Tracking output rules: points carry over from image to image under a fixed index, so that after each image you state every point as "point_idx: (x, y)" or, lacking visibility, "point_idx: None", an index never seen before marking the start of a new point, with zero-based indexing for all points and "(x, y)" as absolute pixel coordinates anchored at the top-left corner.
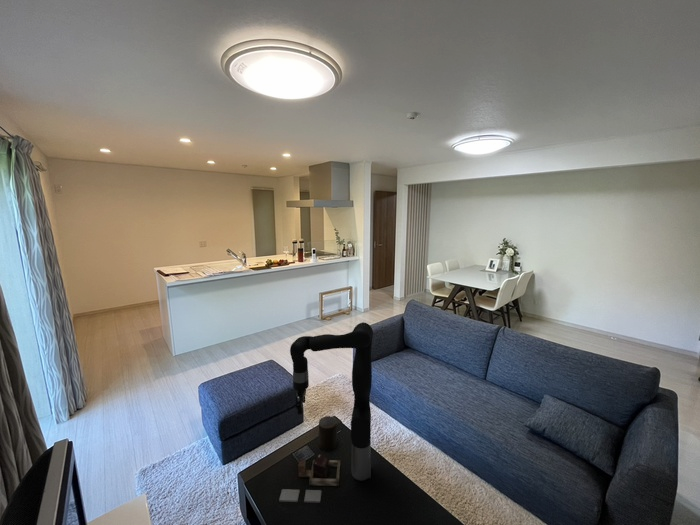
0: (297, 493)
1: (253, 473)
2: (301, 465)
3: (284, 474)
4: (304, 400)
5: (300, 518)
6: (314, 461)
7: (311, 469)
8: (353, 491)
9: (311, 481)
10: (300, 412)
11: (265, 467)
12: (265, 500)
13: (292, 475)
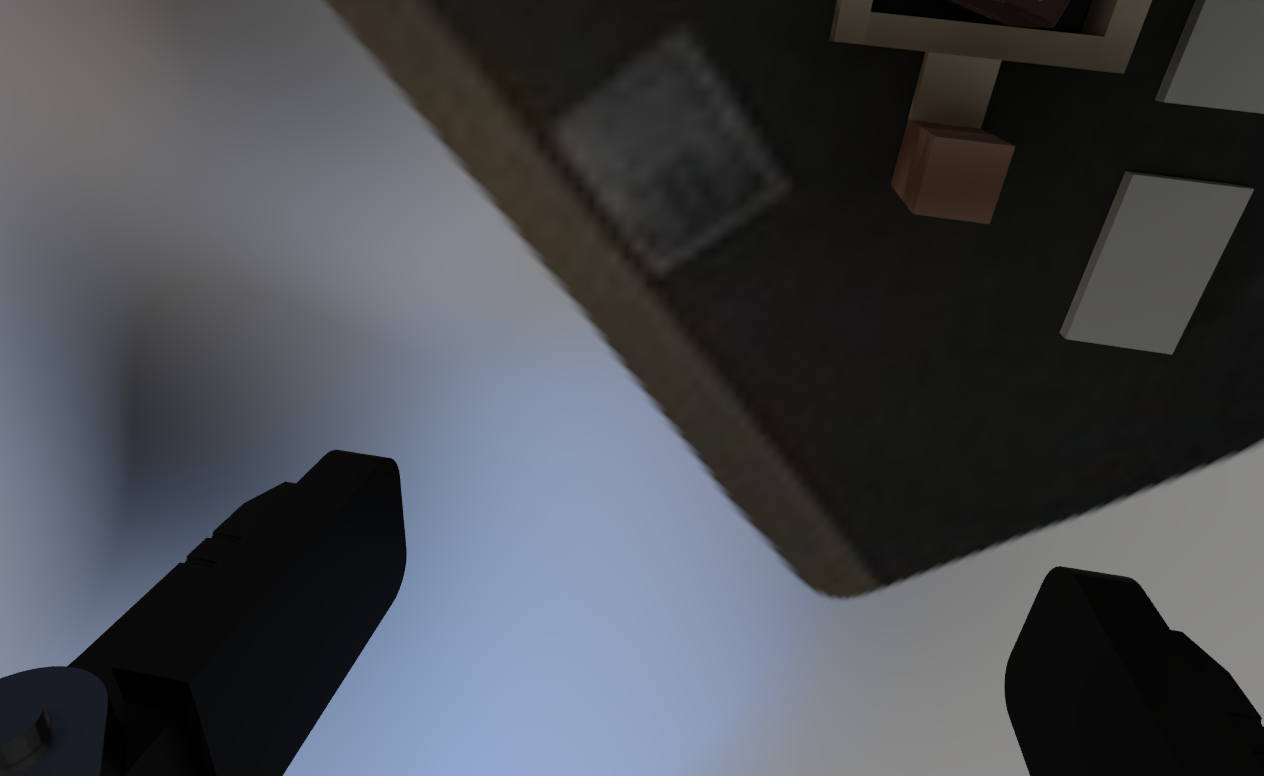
0: (1171, 193)
1: (820, 552)
2: (989, 187)
3: (885, 328)
4: (339, 527)
5: None
6: (1014, 9)
7: (972, 53)
8: None
9: (1128, 43)
10: (1246, 727)
11: (778, 480)
12: (1106, 451)
13: (915, 255)
